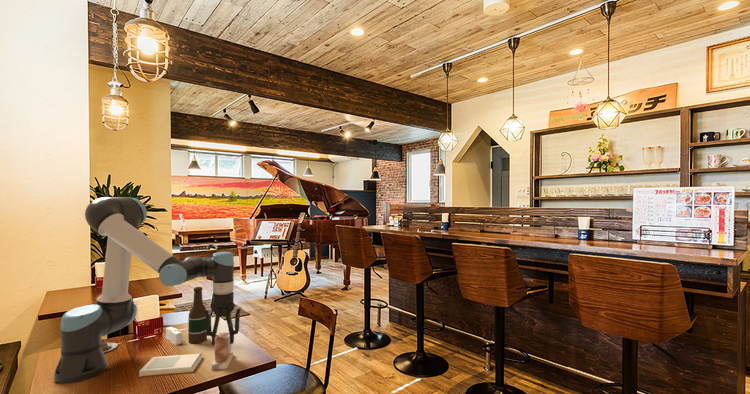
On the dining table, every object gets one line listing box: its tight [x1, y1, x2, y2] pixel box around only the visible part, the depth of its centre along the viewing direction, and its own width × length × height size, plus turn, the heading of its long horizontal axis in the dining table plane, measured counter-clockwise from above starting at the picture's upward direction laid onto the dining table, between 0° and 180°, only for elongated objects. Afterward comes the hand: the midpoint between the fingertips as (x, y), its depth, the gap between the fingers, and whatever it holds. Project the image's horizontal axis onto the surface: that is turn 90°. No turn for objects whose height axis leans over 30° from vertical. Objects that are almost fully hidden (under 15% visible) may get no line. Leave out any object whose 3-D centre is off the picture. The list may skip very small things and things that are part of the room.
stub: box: [211, 332, 234, 371], centre depth 142 cm, size 5×12×10 cm, turn 11°
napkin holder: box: [165, 326, 183, 346], centre depth 164 cm, size 15×11×6 cm
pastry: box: [101, 338, 119, 354], centre depth 155 cm, size 12×12×5 cm
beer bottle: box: [187, 286, 208, 345], centre depth 165 cm, size 8×8×24 cm
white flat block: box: [138, 352, 203, 378], centre depth 139 cm, size 18×12×2 cm, turn 101°
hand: (222, 352), depth 142 cm, fingers closed on stub, 4 cm apart
